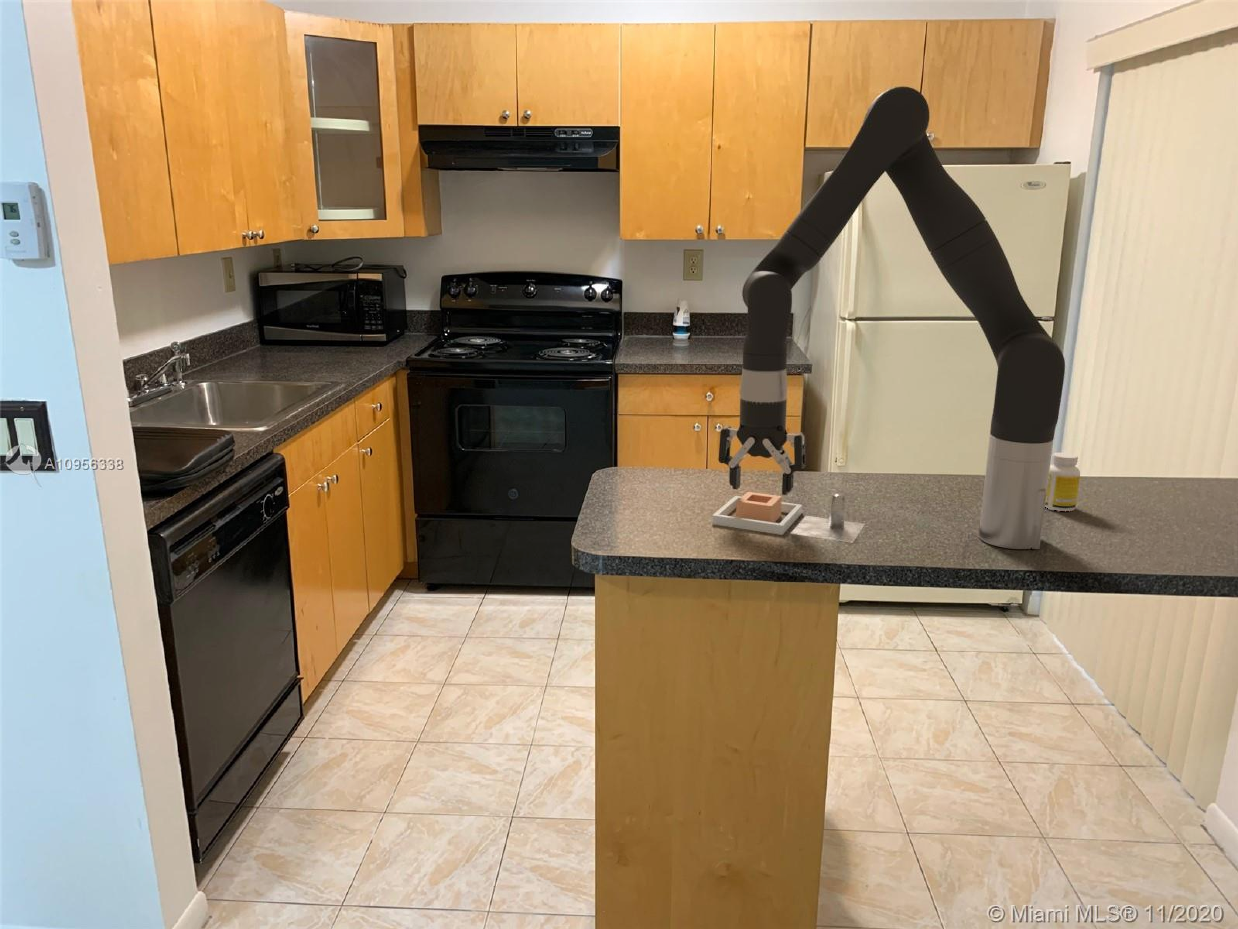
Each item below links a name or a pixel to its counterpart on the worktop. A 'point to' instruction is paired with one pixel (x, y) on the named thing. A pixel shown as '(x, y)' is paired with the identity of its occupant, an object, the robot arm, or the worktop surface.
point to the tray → (756, 525)
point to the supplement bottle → (1063, 482)
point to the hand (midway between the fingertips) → (760, 491)
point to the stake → (830, 523)
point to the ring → (759, 507)
